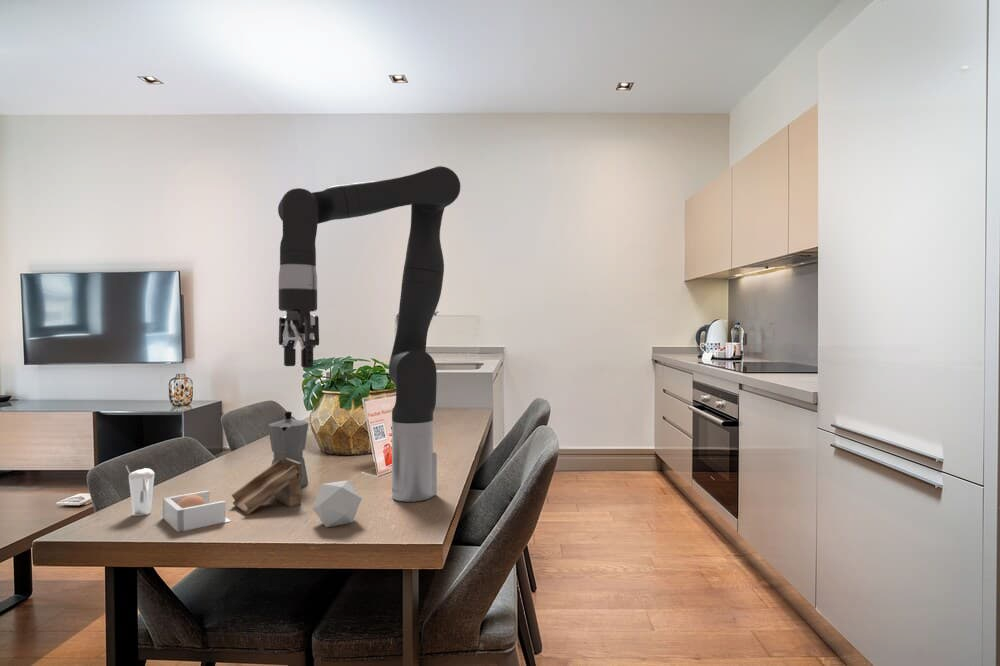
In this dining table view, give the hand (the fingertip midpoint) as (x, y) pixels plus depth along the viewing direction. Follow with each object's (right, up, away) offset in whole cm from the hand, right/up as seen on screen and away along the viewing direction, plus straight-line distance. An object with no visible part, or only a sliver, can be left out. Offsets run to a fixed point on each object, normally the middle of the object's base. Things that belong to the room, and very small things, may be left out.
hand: (298, 366), depth 118 cm
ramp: (-9, -30, +5) cm, 32 cm away
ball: (-20, -28, -5) cm, 34 cm away
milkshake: (-33, -30, 0) cm, 44 cm away
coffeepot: (-10, -30, +23) cm, 39 cm away
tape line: (-16, -30, -1) cm, 34 cm away
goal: (-19, -30, -4) cm, 36 cm away
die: (+10, -30, -6) cm, 32 cm away
